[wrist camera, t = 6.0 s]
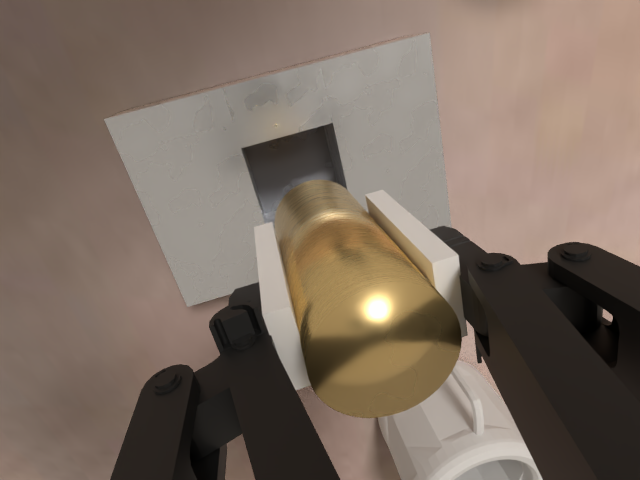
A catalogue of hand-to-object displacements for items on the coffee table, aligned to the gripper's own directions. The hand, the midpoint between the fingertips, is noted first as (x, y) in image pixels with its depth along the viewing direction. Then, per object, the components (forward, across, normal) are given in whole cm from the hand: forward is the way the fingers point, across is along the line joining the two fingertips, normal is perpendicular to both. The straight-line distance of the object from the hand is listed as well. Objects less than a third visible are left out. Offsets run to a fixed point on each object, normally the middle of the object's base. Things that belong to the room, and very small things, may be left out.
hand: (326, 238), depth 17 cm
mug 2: (+13, +7, -24) cm, 28 cm away
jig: (+12, 0, 0) cm, 12 cm away
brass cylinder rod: (+2, 0, 0) cm, 2 cm away
